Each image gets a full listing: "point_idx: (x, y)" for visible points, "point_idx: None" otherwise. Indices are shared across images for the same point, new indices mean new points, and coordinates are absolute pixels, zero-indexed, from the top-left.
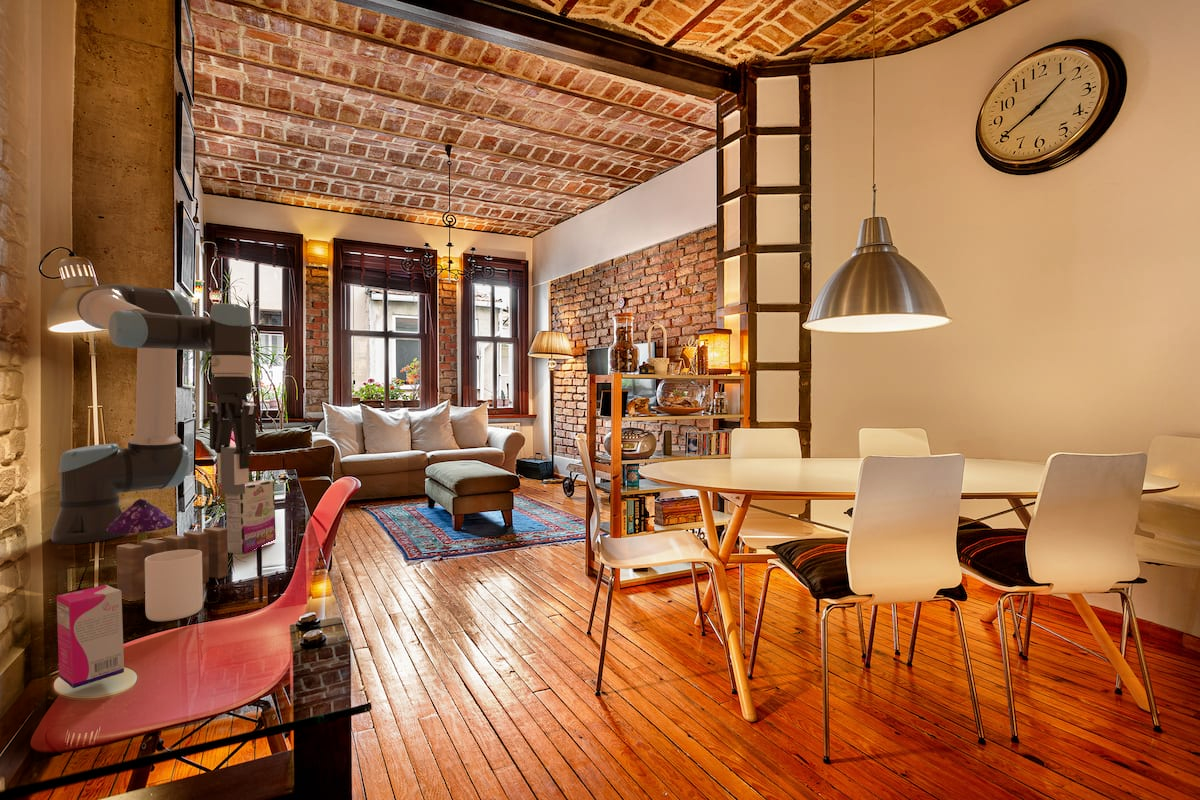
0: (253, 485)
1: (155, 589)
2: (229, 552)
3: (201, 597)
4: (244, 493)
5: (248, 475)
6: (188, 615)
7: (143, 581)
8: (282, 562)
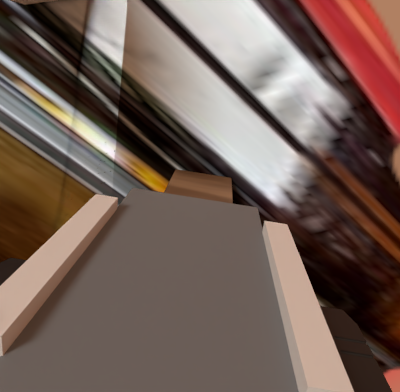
0: None
1: None
2: (30, 3)
3: None
4: (256, 210)
5: (297, 251)
6: None
7: None
8: (267, 30)
